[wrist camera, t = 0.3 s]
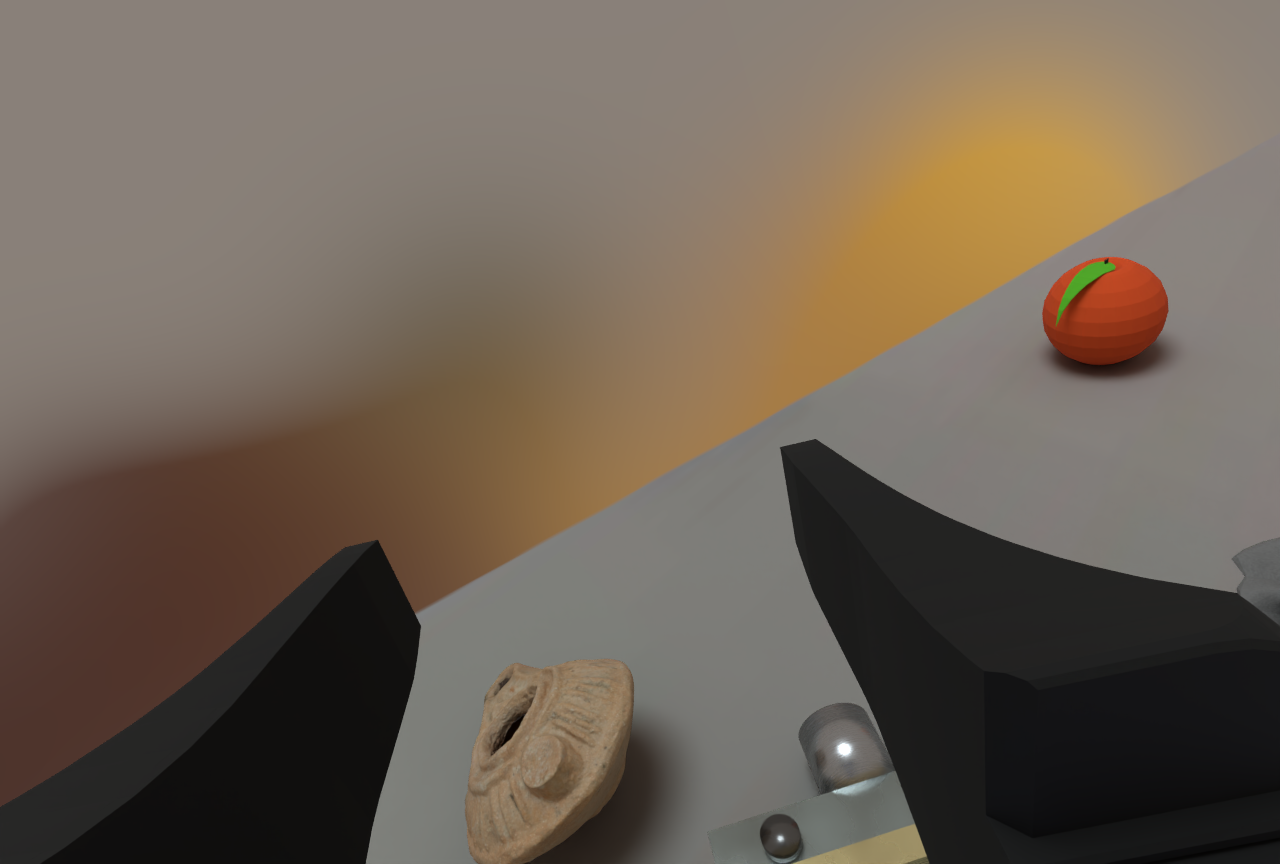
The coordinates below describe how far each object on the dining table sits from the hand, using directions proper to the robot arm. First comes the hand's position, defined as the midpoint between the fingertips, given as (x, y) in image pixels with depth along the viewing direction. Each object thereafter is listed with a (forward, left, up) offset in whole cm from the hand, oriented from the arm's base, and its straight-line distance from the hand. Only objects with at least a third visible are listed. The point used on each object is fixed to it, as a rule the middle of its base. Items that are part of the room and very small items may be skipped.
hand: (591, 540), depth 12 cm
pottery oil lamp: (+12, +7, -21) cm, 25 cm away
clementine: (+29, -32, -21) cm, 48 cm away
